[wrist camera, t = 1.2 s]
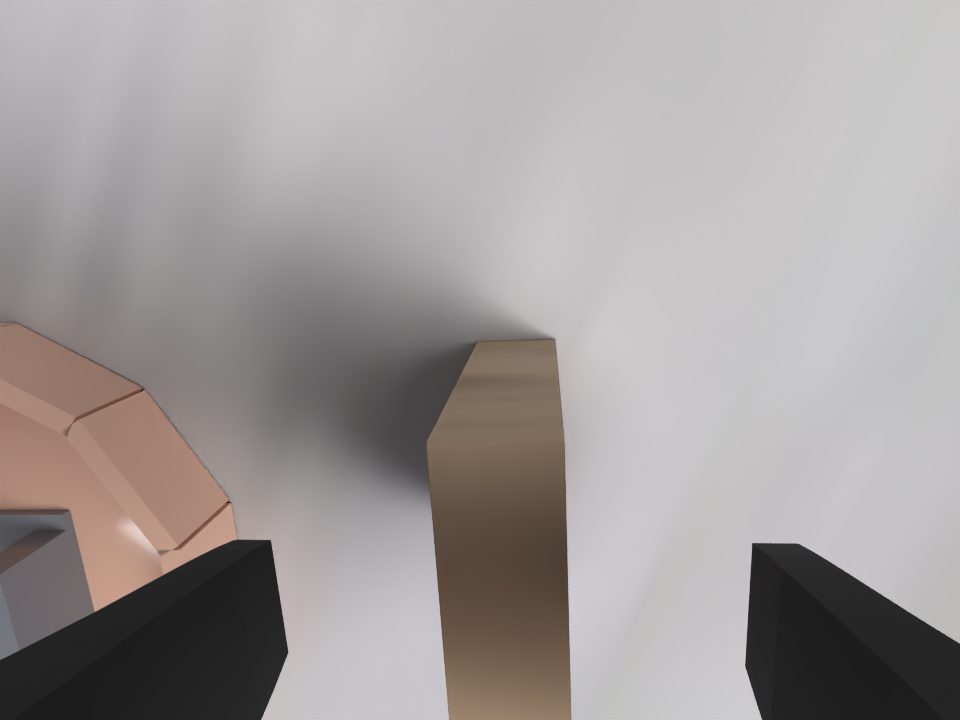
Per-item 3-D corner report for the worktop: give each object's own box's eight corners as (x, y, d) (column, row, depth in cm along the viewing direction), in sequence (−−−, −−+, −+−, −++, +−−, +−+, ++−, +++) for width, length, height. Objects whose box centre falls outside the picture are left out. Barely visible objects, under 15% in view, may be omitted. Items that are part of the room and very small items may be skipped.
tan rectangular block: (560, 515, 16) (571, 729, 10) (488, 516, 17) (449, 725, 10) (555, 338, 15) (564, 440, 8) (477, 341, 15) (426, 442, 9)
